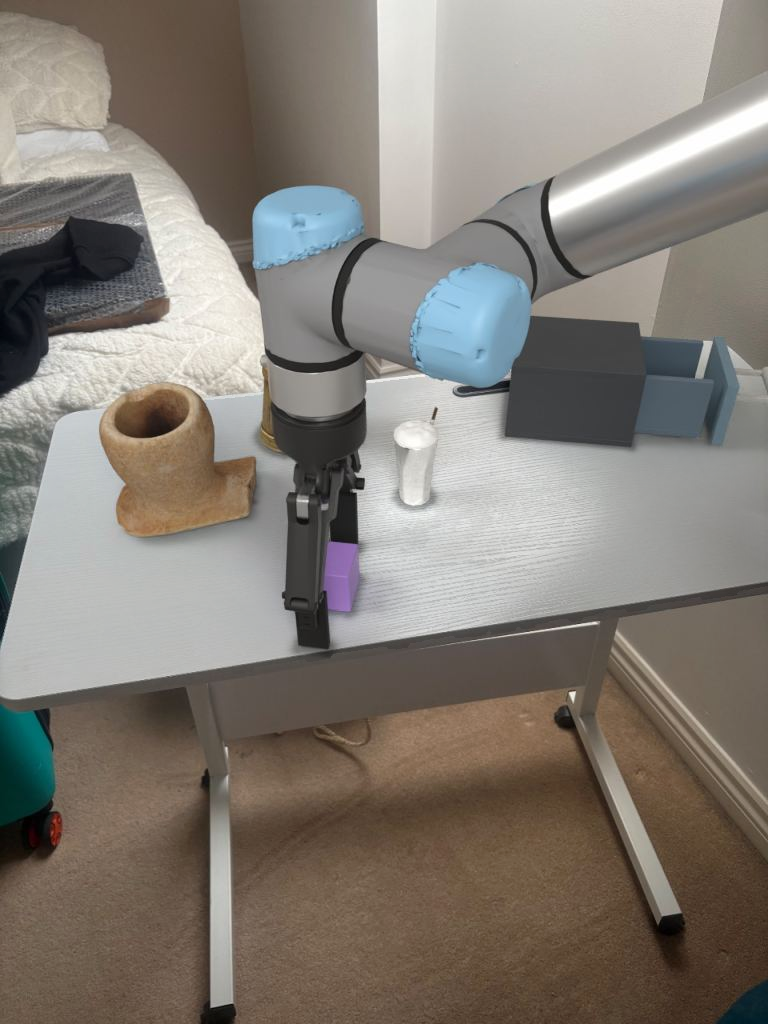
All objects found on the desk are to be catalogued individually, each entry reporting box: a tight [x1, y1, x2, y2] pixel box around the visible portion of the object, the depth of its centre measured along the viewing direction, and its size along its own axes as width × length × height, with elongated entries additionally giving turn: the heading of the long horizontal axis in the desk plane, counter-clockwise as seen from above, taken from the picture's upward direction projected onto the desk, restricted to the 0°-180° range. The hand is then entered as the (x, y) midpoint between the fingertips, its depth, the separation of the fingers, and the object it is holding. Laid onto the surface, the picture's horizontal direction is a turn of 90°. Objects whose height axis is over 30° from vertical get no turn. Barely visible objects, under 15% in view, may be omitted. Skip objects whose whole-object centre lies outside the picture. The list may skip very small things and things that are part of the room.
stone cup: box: [98, 381, 257, 538], centre depth 83 cm, size 15×12×15 cm
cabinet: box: [504, 315, 647, 448], centre depth 99 cm, size 15×13×10 cm
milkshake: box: [393, 406, 439, 507], centre depth 87 cm, size 5×5×10 cm
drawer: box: [634, 335, 768, 446], centre depth 97 cm, size 19×11×8 cm, turn 80°
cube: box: [323, 540, 360, 613], centre depth 77 cm, size 4×4×4 cm
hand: (330, 591), depth 78 cm, fingers open, 13 cm apart
